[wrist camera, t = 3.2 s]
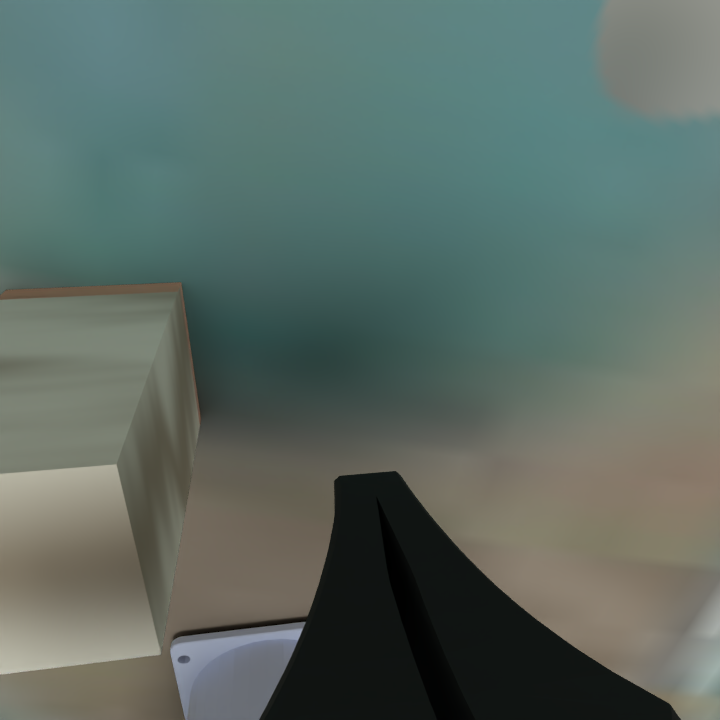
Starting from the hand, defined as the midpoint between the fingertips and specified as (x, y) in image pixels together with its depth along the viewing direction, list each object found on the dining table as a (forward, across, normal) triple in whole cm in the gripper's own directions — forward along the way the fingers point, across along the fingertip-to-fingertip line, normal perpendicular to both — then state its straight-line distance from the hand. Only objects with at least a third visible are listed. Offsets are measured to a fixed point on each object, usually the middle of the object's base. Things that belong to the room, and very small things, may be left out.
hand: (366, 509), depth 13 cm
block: (+8, +7, 0) cm, 11 cm away
